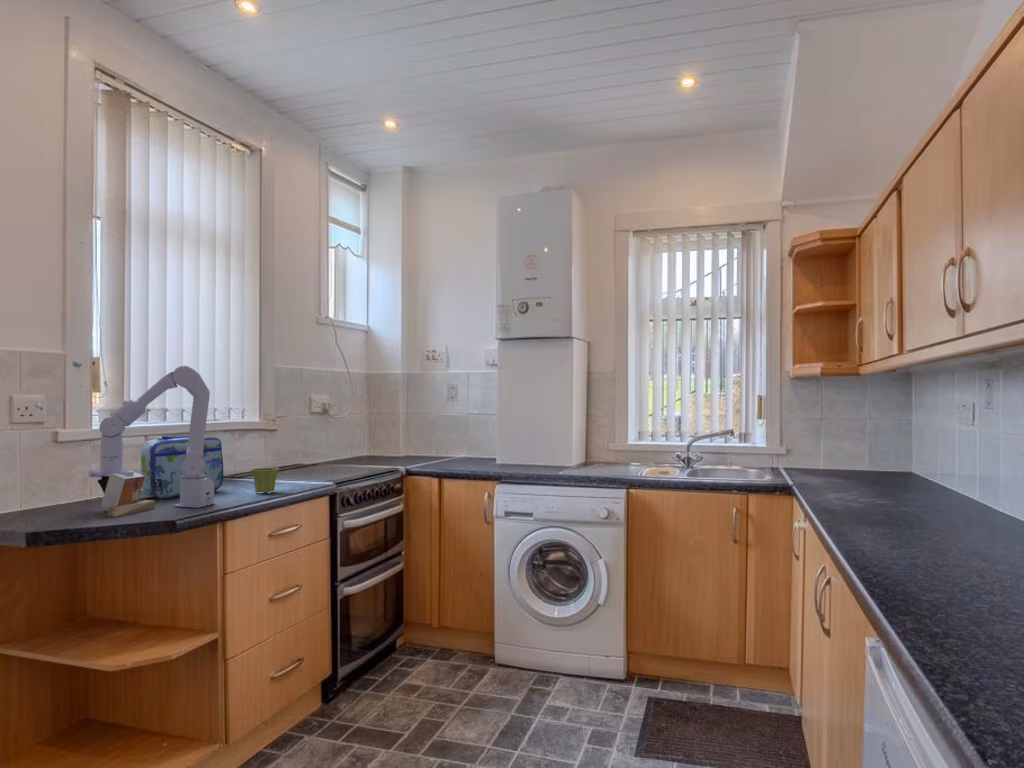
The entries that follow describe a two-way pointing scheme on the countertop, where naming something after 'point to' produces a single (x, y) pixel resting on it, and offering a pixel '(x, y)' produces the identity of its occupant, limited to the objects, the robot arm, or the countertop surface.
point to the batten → (130, 508)
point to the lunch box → (176, 464)
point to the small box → (122, 489)
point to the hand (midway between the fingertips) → (110, 501)
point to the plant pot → (264, 479)
